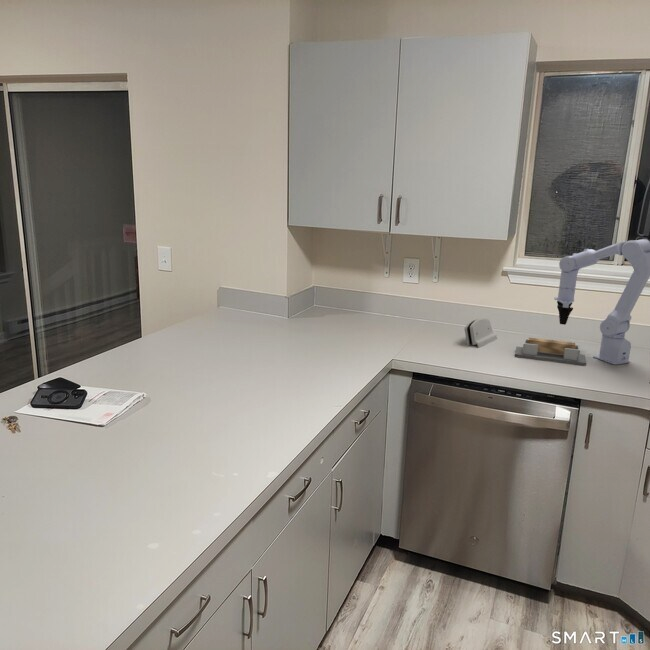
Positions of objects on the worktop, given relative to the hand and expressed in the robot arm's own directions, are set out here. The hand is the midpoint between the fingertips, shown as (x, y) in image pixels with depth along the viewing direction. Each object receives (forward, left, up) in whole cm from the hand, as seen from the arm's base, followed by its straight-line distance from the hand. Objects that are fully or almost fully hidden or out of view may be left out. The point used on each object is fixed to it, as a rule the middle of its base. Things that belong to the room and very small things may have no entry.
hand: (562, 321), depth 227 cm
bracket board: (-10, +15, -9) cm, 20 cm away
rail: (-10, +15, -7) cm, 20 cm away
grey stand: (+15, +27, -10) cm, 32 cm away
